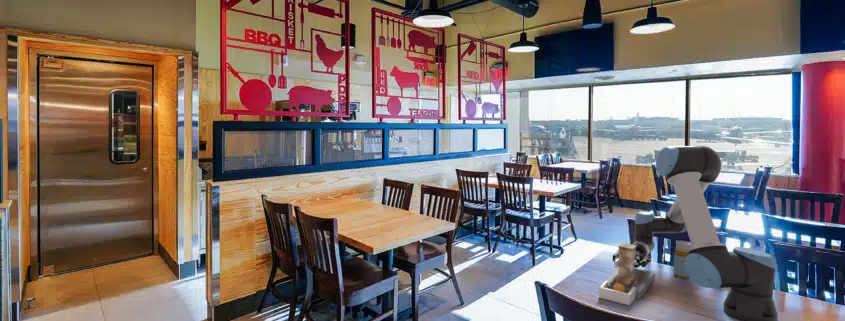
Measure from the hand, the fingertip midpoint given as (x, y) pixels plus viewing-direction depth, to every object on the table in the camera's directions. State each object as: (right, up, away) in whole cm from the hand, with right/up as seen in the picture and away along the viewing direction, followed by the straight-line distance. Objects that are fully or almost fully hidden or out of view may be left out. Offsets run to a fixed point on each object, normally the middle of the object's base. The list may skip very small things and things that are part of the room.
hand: (623, 266), depth 166 cm
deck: (+7, -10, +9) cm, 15 cm away
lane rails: (+5, -7, +7) cm, 11 cm away
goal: (-5, -11, -4) cm, 13 cm away
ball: (-3, -6, -3) cm, 7 cm away
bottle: (+34, -9, +16) cm, 39 cm away
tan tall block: (+3, -8, +4) cm, 9 cm away
